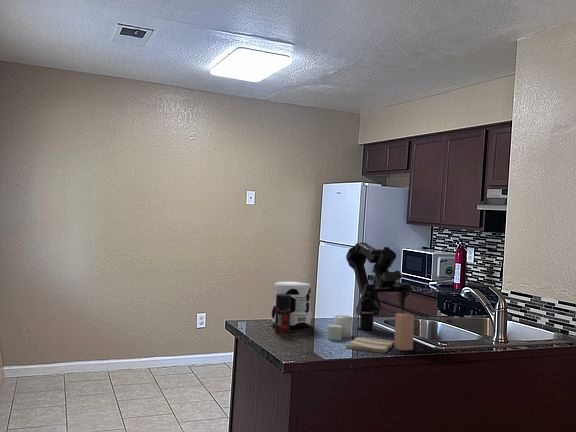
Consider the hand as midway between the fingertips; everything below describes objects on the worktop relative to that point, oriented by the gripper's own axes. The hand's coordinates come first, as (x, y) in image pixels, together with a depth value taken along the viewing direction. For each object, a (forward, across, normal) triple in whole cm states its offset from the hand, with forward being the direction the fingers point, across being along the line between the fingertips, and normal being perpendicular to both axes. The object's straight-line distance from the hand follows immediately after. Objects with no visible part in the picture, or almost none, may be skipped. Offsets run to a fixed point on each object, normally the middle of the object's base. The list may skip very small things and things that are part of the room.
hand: (391, 308), depth 212 cm
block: (+4, -20, +14) cm, 25 cm away
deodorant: (-4, -39, +22) cm, 45 cm away
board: (+13, -10, +5) cm, 17 cm away
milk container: (-12, -33, +32) cm, 48 cm away
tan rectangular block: (+15, +2, +3) cm, 16 cm away
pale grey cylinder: (0, -16, +18) cm, 24 cm away
